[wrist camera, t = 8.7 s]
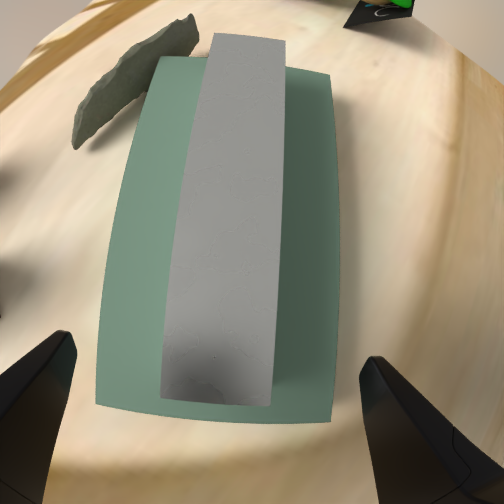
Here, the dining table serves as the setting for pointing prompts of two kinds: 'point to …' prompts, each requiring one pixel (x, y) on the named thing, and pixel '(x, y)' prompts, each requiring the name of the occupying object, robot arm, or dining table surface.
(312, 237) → the green rectangular slab
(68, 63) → the dining table surface
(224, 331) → the rail
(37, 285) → the dining table surface
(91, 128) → the stone
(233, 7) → the dining table surface
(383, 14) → the toy
